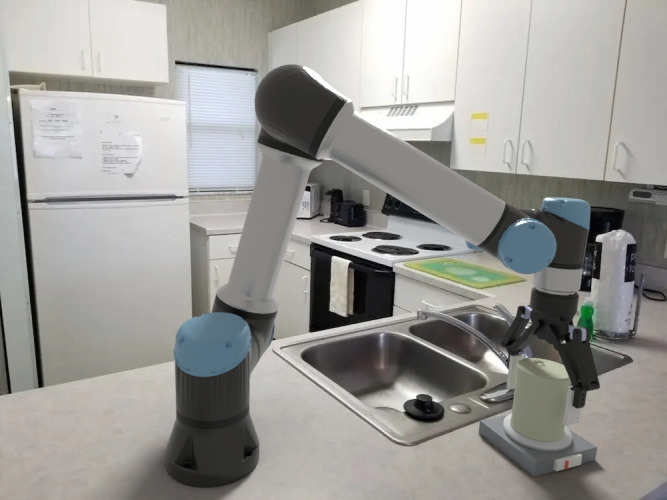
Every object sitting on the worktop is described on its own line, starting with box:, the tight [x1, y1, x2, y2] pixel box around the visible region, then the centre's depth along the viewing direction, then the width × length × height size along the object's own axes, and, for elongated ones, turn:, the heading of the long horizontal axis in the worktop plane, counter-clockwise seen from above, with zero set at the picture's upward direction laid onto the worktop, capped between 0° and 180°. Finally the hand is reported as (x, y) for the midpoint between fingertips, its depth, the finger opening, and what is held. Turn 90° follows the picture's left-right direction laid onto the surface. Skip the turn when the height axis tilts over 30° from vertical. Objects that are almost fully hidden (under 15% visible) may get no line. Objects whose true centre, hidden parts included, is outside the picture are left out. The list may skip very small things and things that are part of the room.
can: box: [510, 357, 572, 442], centre depth 91 cm, size 9×9×12 cm
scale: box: [478, 413, 598, 477], centre depth 92 cm, size 14×15×4 cm
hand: (540, 404), depth 91 cm, fingers open, 13 cm apart
